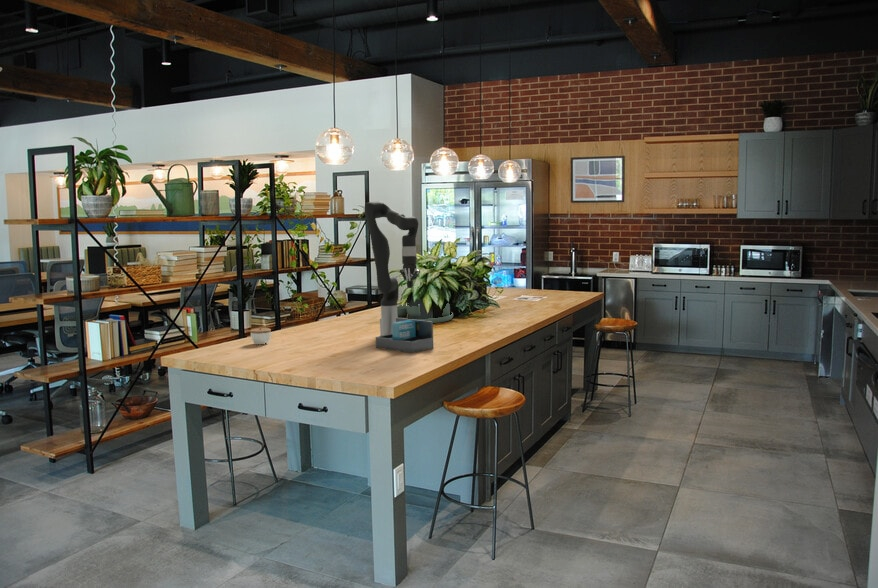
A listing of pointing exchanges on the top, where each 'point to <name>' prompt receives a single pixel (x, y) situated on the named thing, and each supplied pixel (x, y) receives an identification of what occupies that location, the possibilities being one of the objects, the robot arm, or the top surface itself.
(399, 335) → the blue flat rounded slab
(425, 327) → the rack
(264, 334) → the lidded jar
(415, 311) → the tea set
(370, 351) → the top surface
